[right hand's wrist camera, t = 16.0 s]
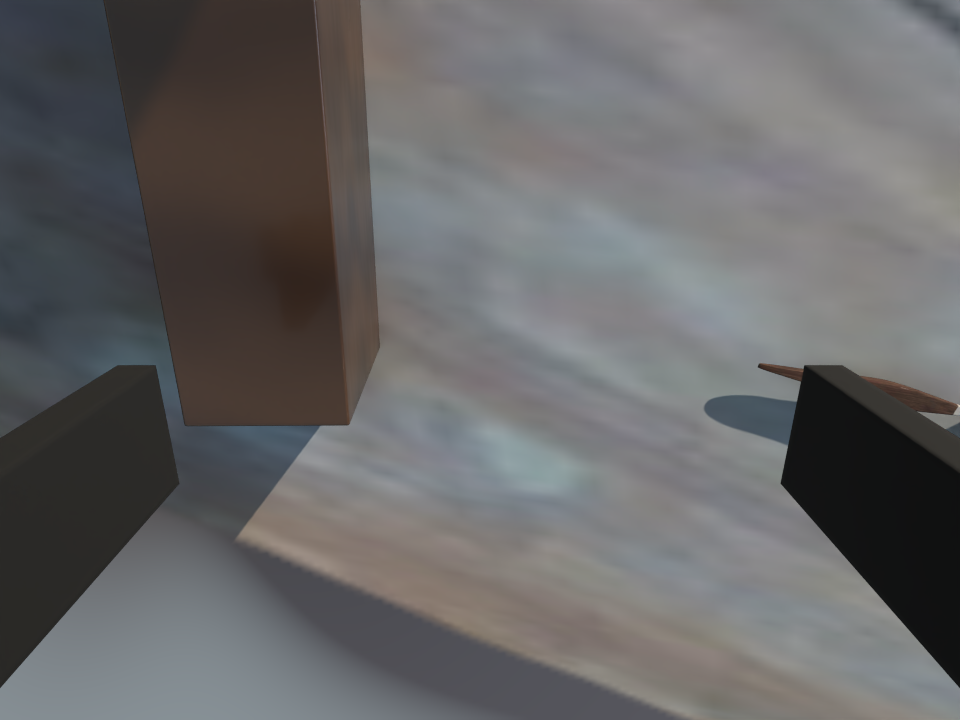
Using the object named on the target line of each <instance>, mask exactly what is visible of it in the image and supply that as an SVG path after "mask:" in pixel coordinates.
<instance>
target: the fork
mask: <svg viewBox="0 0 960 720" xmlns="http://www.w3.org/2000/svg"><path fill="white" fill-rule="evenodd" d="M758 368H761V369H763V370H766V371H769V372H772V373H775V374H779V375H782V376H785V377H788V378H791V379H795V380H798V381H801V380H802V375H803V370H804V369H800V368H793V367H786V366H779V365H771V364H762V363H760V364H759V365H758ZM860 377H862V378H863V379H865V380H867V381H868V382H870V383H871V384H873V385H875V386H876V387H878V388H879V389H881V390H883V391H884V392H886V393H888V394H889V395H891V396H892V397H894V398H896V399H897V400H899V401H900V402H902V403H904V404H905V405H907V406H908V407H910V408H912V409H913V410H915V411H919V412H929V413H939V414H948V415H957V416H960V405H957V404H954V403H952V402H949V401H946V400H943V399H941V398H938V397H935V396H933V395H930V394H927V393H924V392H922V391H919V390H916V389H913V388H910V387H907V386H905V385H901V384H898V383H895V382H891V381H887V380H883V379H877V378H871V377H863V376H860Z"/></svg>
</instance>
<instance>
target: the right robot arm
mask: <svg viewBox="0 0 960 720" xmlns="http://www.w3.org/2000/svg"><path fill="white" fill-rule="evenodd" d="M178 485H179V479H178V474H177V469H176V464H175V459H174V454H173V449H172V444H171V440H170V435H169V430H168V425H167V420H166V415H165V410H164V405H163V400H162V395H161V390H160V385H159V380H158V375H157V370H156V365H118V366H116V367H114V368H113V369H111V370H110V371H108V372H106V373H105V374H103V375H101V376H100V377H98V378H97V379H95V380H93V381H92V382H90V383H89V384H87V385H85V386H84V387H82V388H81V389H79V390H77V391H76V392H74V393H72V394H71V395H69V396H68V397H66V398H64V399H63V400H61V401H60V402H58V403H56V404H55V405H53V406H52V407H50V408H48V409H47V410H45V411H43V412H42V413H40V414H39V415H37V416H35V417H34V418H32V419H31V420H29V421H27V422H26V423H24V424H23V425H21V426H19V427H18V428H16V429H14V430H13V431H11V432H10V433H8V434H6V435H5V436H3V437H2V438H0V688H1V686H2V685H3V684H4V683H5V682H6V681H7V680H8V678H9V677H10V676H11V675H12V674H13V673H14V672H15V670H16V669H17V668H18V667H19V666H20V665H21V664H22V662H23V661H24V660H25V659H26V658H27V657H28V656H29V654H30V653H31V652H32V651H33V650H34V649H35V648H36V646H37V645H38V644H39V643H40V642H41V641H42V640H43V638H44V637H45V636H46V635H47V634H48V633H49V632H50V631H51V629H52V628H53V627H54V626H55V625H56V624H57V623H58V621H59V620H60V619H61V618H62V617H63V616H64V615H65V613H66V612H67V611H68V610H69V609H70V608H71V607H72V605H73V604H74V603H75V602H76V601H77V600H78V599H79V597H80V596H81V595H82V594H83V593H84V592H85V591H86V589H87V588H88V587H89V586H90V585H91V584H92V583H93V581H94V580H95V579H96V578H97V577H98V576H99V575H100V573H101V572H102V571H103V570H104V569H105V568H106V567H107V565H108V564H109V563H110V562H111V561H112V560H113V559H114V557H115V556H116V555H117V554H118V553H119V552H120V551H121V549H122V548H123V547H124V546H125V545H126V544H127V543H128V542H129V540H130V539H131V538H132V537H133V536H134V535H135V534H136V532H137V531H138V530H139V529H140V528H141V527H142V526H143V524H144V523H145V522H146V521H147V520H148V519H149V518H150V516H151V515H152V514H153V513H154V512H155V511H156V510H157V508H158V507H159V506H160V505H161V504H162V503H163V502H164V500H165V499H166V498H167V497H168V496H169V495H170V494H171V492H172V491H173V490H174V489H175V488H176V487H177V486H178ZM781 485H782V486H783V487H784V488H785V489H786V490H787V491H788V492H789V494H790V495H791V496H792V497H793V498H794V499H795V500H796V502H797V503H798V504H799V505H800V506H801V507H802V508H803V510H804V511H805V512H806V513H807V514H808V515H809V516H810V518H811V519H812V520H813V521H814V522H815V523H816V524H817V526H818V527H819V528H820V529H821V530H822V531H823V532H824V534H825V535H826V536H827V537H828V538H829V539H830V540H831V542H832V543H833V544H834V545H835V546H836V547H837V548H838V550H839V551H840V552H841V553H842V554H843V555H844V556H845V558H846V559H847V560H848V561H849V562H850V563H851V564H852V566H853V567H854V568H855V569H856V570H857V571H858V572H859V573H860V575H861V576H862V577H863V578H864V579H865V580H866V581H867V583H868V584H869V585H870V586H871V587H872V588H873V589H874V591H875V592H876V593H877V594H878V595H879V596H880V597H881V599H882V600H883V601H884V602H885V603H886V604H887V605H888V607H889V608H890V609H891V610H892V611H893V612H894V613H895V615H896V616H897V617H898V618H899V619H900V620H901V621H902V623H903V624H904V625H905V626H906V627H907V628H908V629H909V631H910V632H911V633H912V634H913V635H914V636H915V637H916V639H917V640H918V641H919V642H920V643H921V644H922V645H923V647H924V648H925V649H926V650H927V651H928V652H929V653H930V654H931V656H932V657H933V658H934V659H935V660H936V661H937V662H938V664H939V665H940V666H941V667H942V668H943V669H944V670H945V672H946V673H947V674H948V675H949V676H950V677H951V678H952V680H953V681H954V682H955V683H956V684H957V685H958V686H959V688H960V438H958V437H957V436H955V435H954V434H952V433H950V432H949V431H947V430H946V429H944V428H942V427H941V426H939V425H937V424H936V423H934V422H933V421H931V420H929V419H928V418H926V417H925V416H923V415H921V414H920V413H918V412H917V411H915V410H913V409H912V408H910V407H908V406H907V405H905V404H904V403H902V402H900V401H899V400H897V399H896V398H894V397H892V396H891V395H889V394H888V393H886V392H884V391H883V390H881V389H879V388H878V387H876V386H875V385H873V384H871V383H870V382H868V381H867V380H865V379H863V378H862V377H860V376H859V375H857V374H855V373H854V372H852V371H851V370H849V369H847V368H846V367H844V366H842V365H804V370H803V375H802V380H801V385H800V390H799V395H798V400H797V405H796V410H795V415H794V420H793V425H792V430H791V435H790V440H789V444H788V449H787V454H786V459H785V464H784V469H783V474H782V479H781Z"/></svg>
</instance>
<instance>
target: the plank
mask: <svg viewBox="0 0 960 720" xmlns="http://www.w3.org/2000/svg"><path fill="white" fill-rule="evenodd" d="M104 5H105V10H106V16H107V21H108V26H109V31H110V37H111V42H112V47H113V52H114V58H115V63H116V68H117V73H118V78H119V84H120V89H121V94H122V99H123V105H124V110H125V115H126V120H127V126H128V131H129V136H130V141H131V146H132V152H133V157H134V162H135V167H136V173H137V178H138V183H139V188H140V194H141V199H142V204H143V209H144V214H145V220H146V225H147V230H148V235H149V241H150V246H151V251H152V256H153V262H154V267H155V272H156V277H157V282H158V288H159V293H160V298H161V303H162V309H163V314H164V319H165V324H166V330H167V335H168V340H169V345H170V350H171V356H172V361H173V366H174V371H175V377H176V382H177V387H178V392H179V398H180V403H181V408H182V413H183V418H184V424H185V426H309V425H349V424H350V421H351V419H352V416H353V414H354V411H355V409H356V406H357V404H358V401H359V399H360V396H361V393H362V391H363V388H364V386H365V383H366V381H367V378H368V376H369V373H370V371H371V368H372V366H373V363H374V360H375V358H376V355H377V353H378V350H379V348H380V343H379V325H378V308H377V290H376V273H375V255H374V238H373V220H372V203H371V185H370V167H369V150H368V132H367V115H366V97H365V80H364V62H363V45H362V27H361V9H360V0H104Z"/></svg>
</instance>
